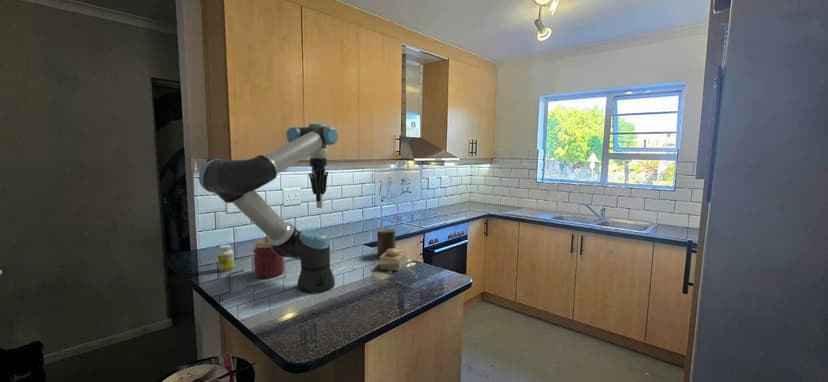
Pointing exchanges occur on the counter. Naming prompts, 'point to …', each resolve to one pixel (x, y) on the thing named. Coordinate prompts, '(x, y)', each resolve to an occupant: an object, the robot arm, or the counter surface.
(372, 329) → the counter surface
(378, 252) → the pillar candle
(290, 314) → the counter surface
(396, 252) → the knob
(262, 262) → the canister
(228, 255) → the pill bottle
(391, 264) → the housing
